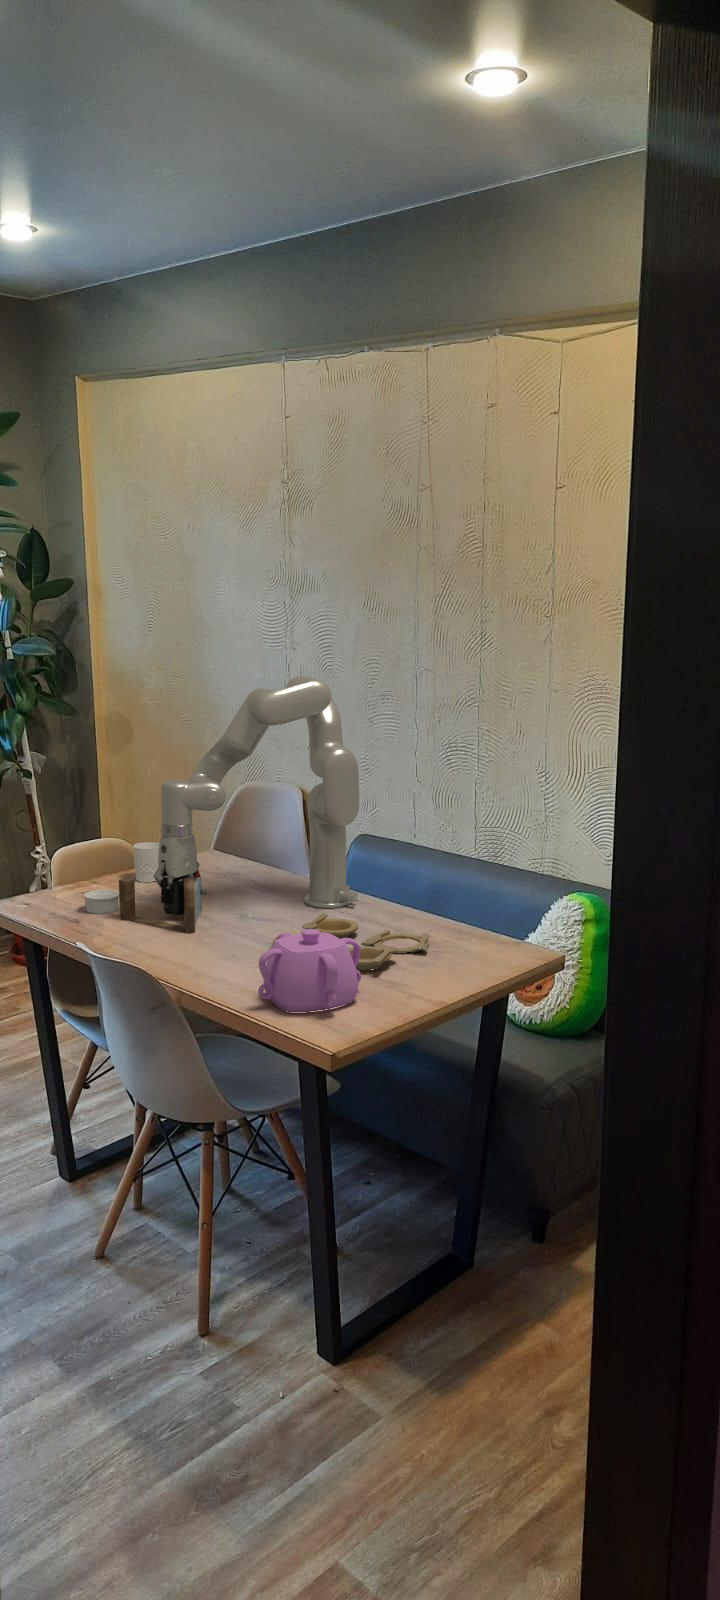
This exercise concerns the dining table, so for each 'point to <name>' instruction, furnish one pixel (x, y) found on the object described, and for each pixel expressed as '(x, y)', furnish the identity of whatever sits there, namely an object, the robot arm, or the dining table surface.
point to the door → (198, 896)
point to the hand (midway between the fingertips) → (177, 899)
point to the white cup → (145, 860)
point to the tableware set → (367, 941)
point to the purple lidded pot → (310, 971)
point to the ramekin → (101, 901)
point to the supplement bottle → (176, 897)
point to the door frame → (129, 914)
